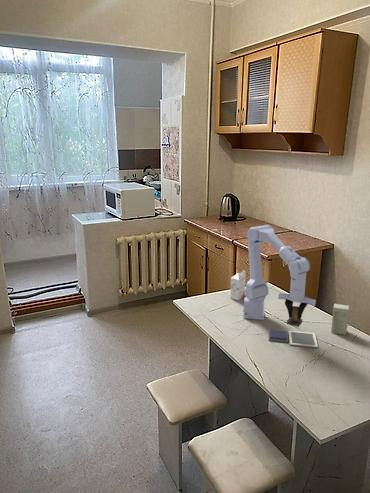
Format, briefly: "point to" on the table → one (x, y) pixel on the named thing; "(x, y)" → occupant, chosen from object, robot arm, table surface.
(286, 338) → the ink pad
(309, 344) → the marked square
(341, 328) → the skincare box
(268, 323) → the table surface
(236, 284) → the ink cartridge box
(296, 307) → the stamp
